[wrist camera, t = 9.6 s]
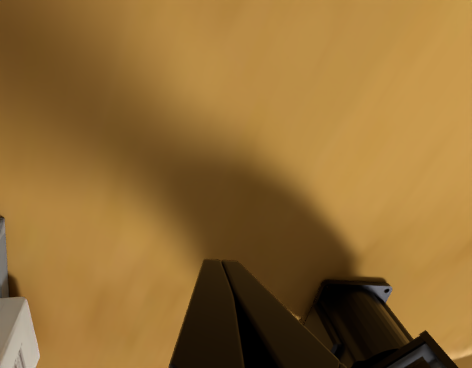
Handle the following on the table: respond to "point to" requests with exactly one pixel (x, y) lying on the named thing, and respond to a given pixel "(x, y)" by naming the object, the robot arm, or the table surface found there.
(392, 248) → the table surface
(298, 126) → the table surface
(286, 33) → the table surface
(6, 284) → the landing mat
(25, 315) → the skincare box
